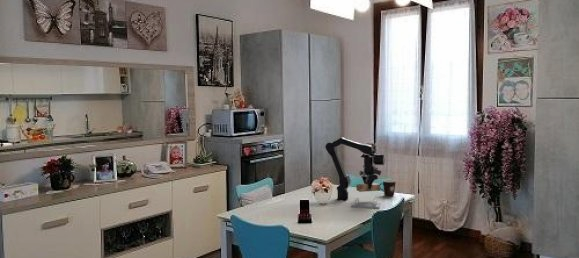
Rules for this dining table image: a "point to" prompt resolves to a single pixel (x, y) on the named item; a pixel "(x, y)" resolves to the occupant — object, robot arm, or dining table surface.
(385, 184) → the coffee mug
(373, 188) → the shelf board
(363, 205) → the peg plate
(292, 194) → the dining table surface
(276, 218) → the dining table surface
